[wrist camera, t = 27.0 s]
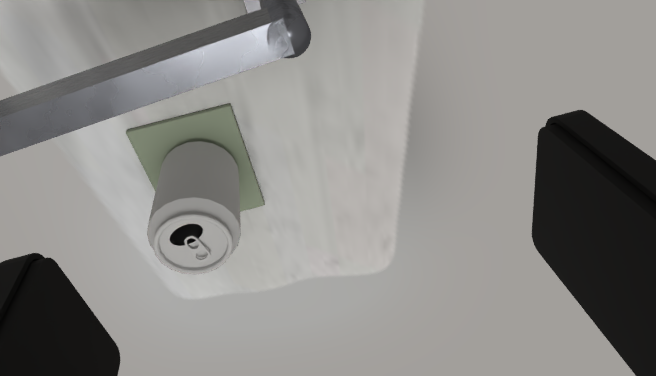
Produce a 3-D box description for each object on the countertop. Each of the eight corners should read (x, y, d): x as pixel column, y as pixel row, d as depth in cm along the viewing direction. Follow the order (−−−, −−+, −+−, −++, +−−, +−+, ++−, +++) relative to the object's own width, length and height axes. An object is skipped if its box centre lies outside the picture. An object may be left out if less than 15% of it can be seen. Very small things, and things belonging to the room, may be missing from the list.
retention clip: (278, -43, 39) (306, 13, 24) (288, -10, 40) (321, 61, 26) (26, 46, 39) (-90, 152, 25) (46, 75, 41) (-53, 191, 26)
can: (209, 123, 46) (204, 194, 36) (253, 178, 50) (258, 255, 40) (145, 161, 47) (122, 239, 37) (193, 212, 51) (184, 295, 41)
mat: (126, 129, 46) (125, 132, 45) (230, 103, 46) (230, 105, 45) (174, 225, 53) (174, 228, 52) (264, 201, 53) (264, 205, 52)
